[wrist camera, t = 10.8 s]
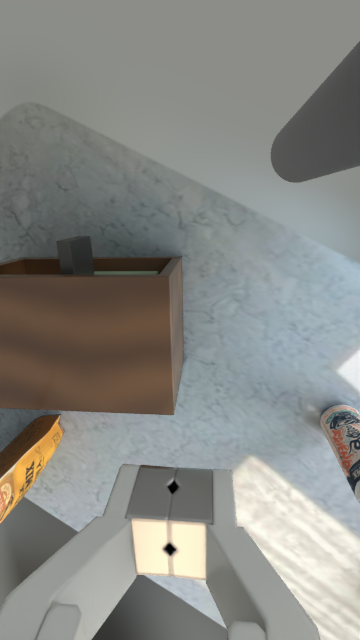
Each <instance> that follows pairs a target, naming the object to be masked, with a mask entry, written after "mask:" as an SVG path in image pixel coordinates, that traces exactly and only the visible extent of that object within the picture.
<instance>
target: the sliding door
mask: <svg viewBox="0 0 360 640" xmlns="http://www.w3.org/2000/svg"><path fill="white" fill-rule="evenodd" d="M57 248H58V254H59V261H60V268H61V275H63V274H158V271H94V266H93V257H92V248H91V239H90V236H79V237H74V238H69V239H65V240H60V241H57Z"/></svg>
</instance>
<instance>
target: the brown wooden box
mask: <svg viewBox="0 0 360 640" xmlns="http://www.w3.org/2000/svg"><path fill="white" fill-rule="evenodd" d="M93 266H94V271H158V274H63V275H61V268H60V261H59V257H54V258H18V259H14V260H10V261H6V262H3V263H0V408H12V409H37V410H61V411H86V412H110V413H135V414H159V415H174V412H175V406H176V401H177V396H178V390H179V385H180V380H181V374H182V369H183V364H184V338H183V285H182V257H93Z"/></svg>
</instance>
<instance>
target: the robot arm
mask: <svg viewBox="0 0 360 640" xmlns="http://www.w3.org/2000/svg"><path fill="white" fill-rule="evenodd" d="M136 574H139V575H157V576H173V577H181V578H189V579H198V580H206V584H207V586H208V588H209V590H210V592H211V595H212V597H213V599H214V601H215V603H216V605H217V608H218V610H219V612H220V614H221V616H222V619H223V621H224V623H225V625H226V627H227V629H228V634H227V636H228V637H227V640H320V636H319V632H318V628H317V626H316V625H315V624H314V622H313V621H312V619H311V618H310V617H309V615H308V614H307V613H306V611H305V610H304V609H303V607H302V606H301V605H300V603H299V602H298V601H297V599H296V598H295V596H294V595H293V594H292V592H291V591H290V590H289V588H288V587H287V586H286V584H285V583H284V582H283V580H282V579H281V577H280V576H279V575H278V573H277V572H276V571H275V569H274V568H273V567H272V565H271V564H270V563H269V561H268V560H267V559H266V557H265V556H264V554H263V553H262V552H261V550H260V549H259V548H258V546H257V545H256V544H255V542H254V541H253V540H252V538H251V537H250V536H249V534H248V533H247V531H246V530H245V529H244V527H238V526H237V519H236V506H235V494H234V481H233V472H232V470H225V469H213V470H212V469H199V468H173V467H161V466H149V465H131V464H123V465H122V466H121V467H120V469H119V472H118V474H117V477H116V480H115V483H114V486H113V488H112V491H111V494H110V497H109V500H108V502H107V505H106V508H105V511H104V514H103V516H102V517H96V518H94V519H93V520H92V521H91V522H90V523H89V524H88V525H87V526H85V527H84V528H83V529H82V530H81V531H80V532H79V533H77V534H76V535H75V536H74V537H73V538H72V539H71V540H70V541H69V542H67V543H66V544H65V545H64V546H63V547H62V548H61V549H59V550H58V551H57V552H56V553H55V554H54V555H53V556H51V557H50V558H49V559H48V560H47V561H46V562H45V563H43V564H42V565H41V566H40V567H39V568H38V569H37V570H35V571H34V572H33V573H32V574H31V575H30V576H29V577H28V578H26V579H25V580H24V581H23V582H22V583H21V584H20V585H18V586H17V587H16V588H15V589H14V590H13V591H12V592H11V593H9V594H8V595H7V597H6V599H5V600H4V602H3V604H2V606H1V608H0V640H91V639H92V638H93V636H94V635H95V634H96V632H97V631H98V630H99V628H100V627H101V625H102V624H103V623H104V621H105V620H106V619H107V617H108V616H109V614H110V613H111V612H112V610H113V609H114V607H115V606H116V605H117V603H118V602H119V601H120V599H121V598H122V596H123V595H124V594H125V592H126V591H127V589H128V588H129V587H130V585H131V584H132V582H133V581H134V580H135V578H136Z"/></svg>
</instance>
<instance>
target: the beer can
mask: <svg viewBox="0 0 360 640" xmlns="http://www.w3.org/2000/svg"><path fill="white" fill-rule="evenodd" d="M320 425H321V428H322V429H323V431H324V433H325V435H326V437H327V440H328V442H329V444H330V446H331V448H332V450H333V452H334V454H335V456H336V458H337V460H338V462H339V464H340V466H341V468H342V470H343V472H344V474H345V476H346V478H347V480H348V482H349V484H350V486H351V488H352V490H353V492H354V494H355V497H356V499H357V500H358V502H359V503H360V414H359V413H358V411H357V410H356V409H355V408H353V407H351V406H348V405H335V406H332V407H330V408H329V409H327V410H326V411H325V412H324V413H323V415H322V416H321V419H320Z"/></svg>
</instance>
